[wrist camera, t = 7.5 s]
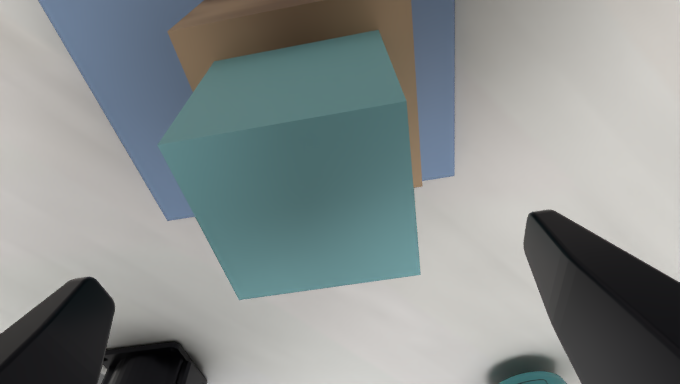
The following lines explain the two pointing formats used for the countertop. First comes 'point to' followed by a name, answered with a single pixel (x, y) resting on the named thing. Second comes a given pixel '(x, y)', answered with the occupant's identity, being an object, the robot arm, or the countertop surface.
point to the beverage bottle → (535, 378)
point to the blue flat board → (174, 91)
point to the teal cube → (300, 167)
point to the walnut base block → (298, 38)
